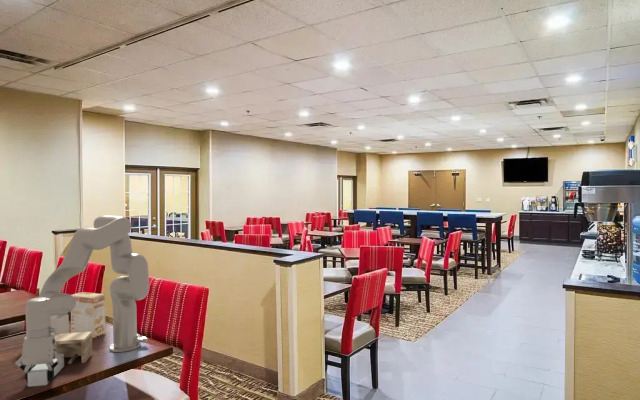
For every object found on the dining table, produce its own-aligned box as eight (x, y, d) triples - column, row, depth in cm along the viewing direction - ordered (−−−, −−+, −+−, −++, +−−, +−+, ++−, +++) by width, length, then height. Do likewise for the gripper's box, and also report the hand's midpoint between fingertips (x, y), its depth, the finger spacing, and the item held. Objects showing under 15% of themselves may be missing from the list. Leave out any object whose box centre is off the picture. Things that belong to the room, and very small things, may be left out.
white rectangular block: (64, 366, 166) (63, 353, 165) (46, 385, 150) (46, 371, 150) (47, 367, 164) (47, 355, 164) (27, 386, 149) (27, 373, 149)
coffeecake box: (106, 333, 202) (105, 293, 202) (93, 338, 196) (92, 297, 195) (83, 329, 208) (82, 291, 207) (70, 334, 201) (69, 294, 201)
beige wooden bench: (92, 353, 178) (91, 331, 177) (84, 362, 169) (84, 339, 168) (40, 358, 174) (39, 335, 173) (29, 367, 165) (29, 343, 164)
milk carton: (56, 353, 178) (55, 310, 177) (42, 352, 179) (41, 309, 179) (69, 347, 185) (68, 305, 184) (55, 346, 186) (54, 304, 186)
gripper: (68, 327, 157) (70, 374, 157) (17, 330, 153) (18, 378, 154) (60, 334, 149) (62, 383, 150) (6, 337, 146) (8, 388, 146)
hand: (40, 380), depth 152 cm, fingers closed on white rectangular block, 5 cm apart
